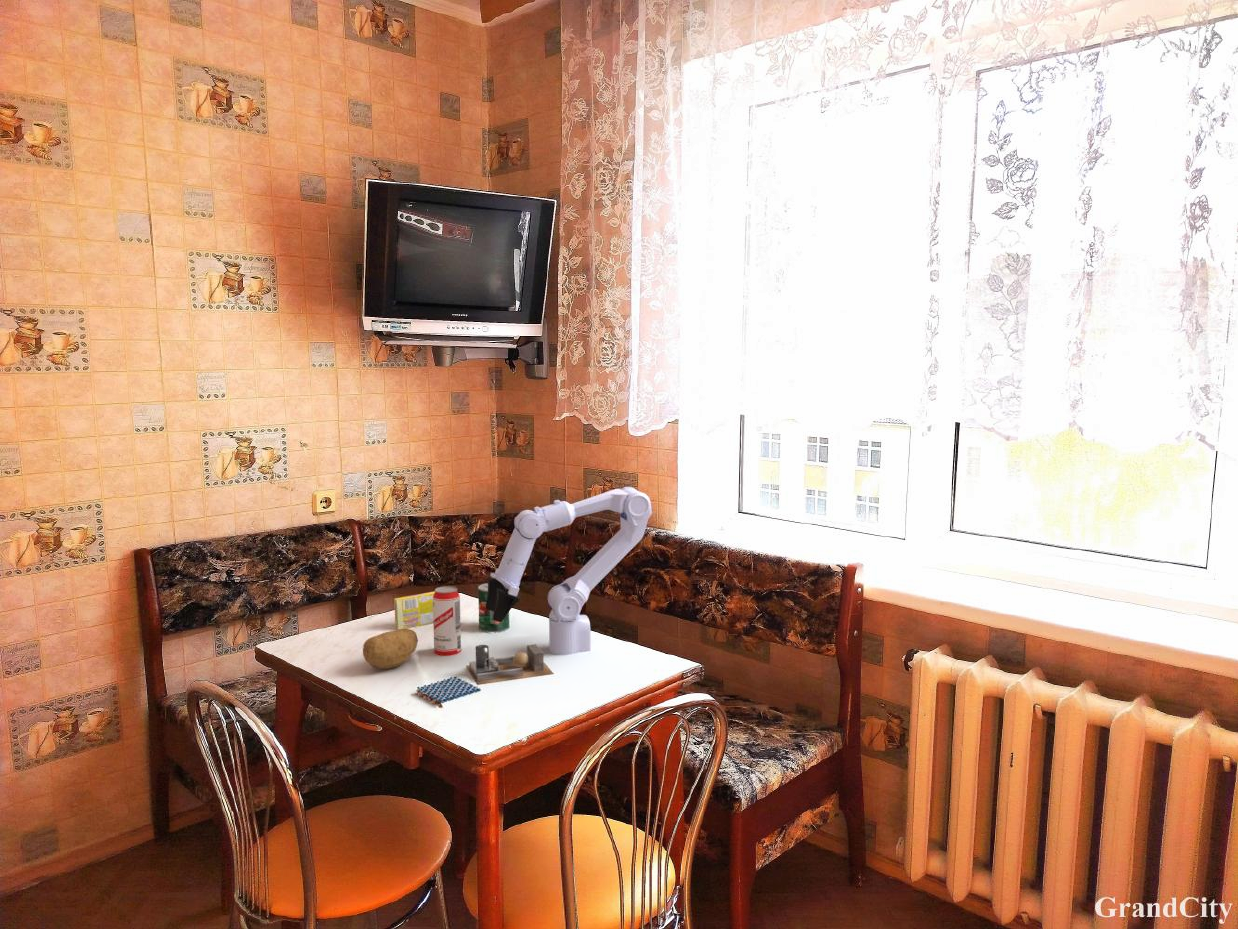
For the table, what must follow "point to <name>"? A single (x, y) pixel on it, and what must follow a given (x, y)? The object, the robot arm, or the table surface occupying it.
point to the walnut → (521, 660)
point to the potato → (390, 648)
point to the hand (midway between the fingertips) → (493, 615)
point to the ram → (483, 661)
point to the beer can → (446, 621)
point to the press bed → (514, 668)
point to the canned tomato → (489, 614)
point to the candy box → (413, 610)
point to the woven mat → (446, 690)
